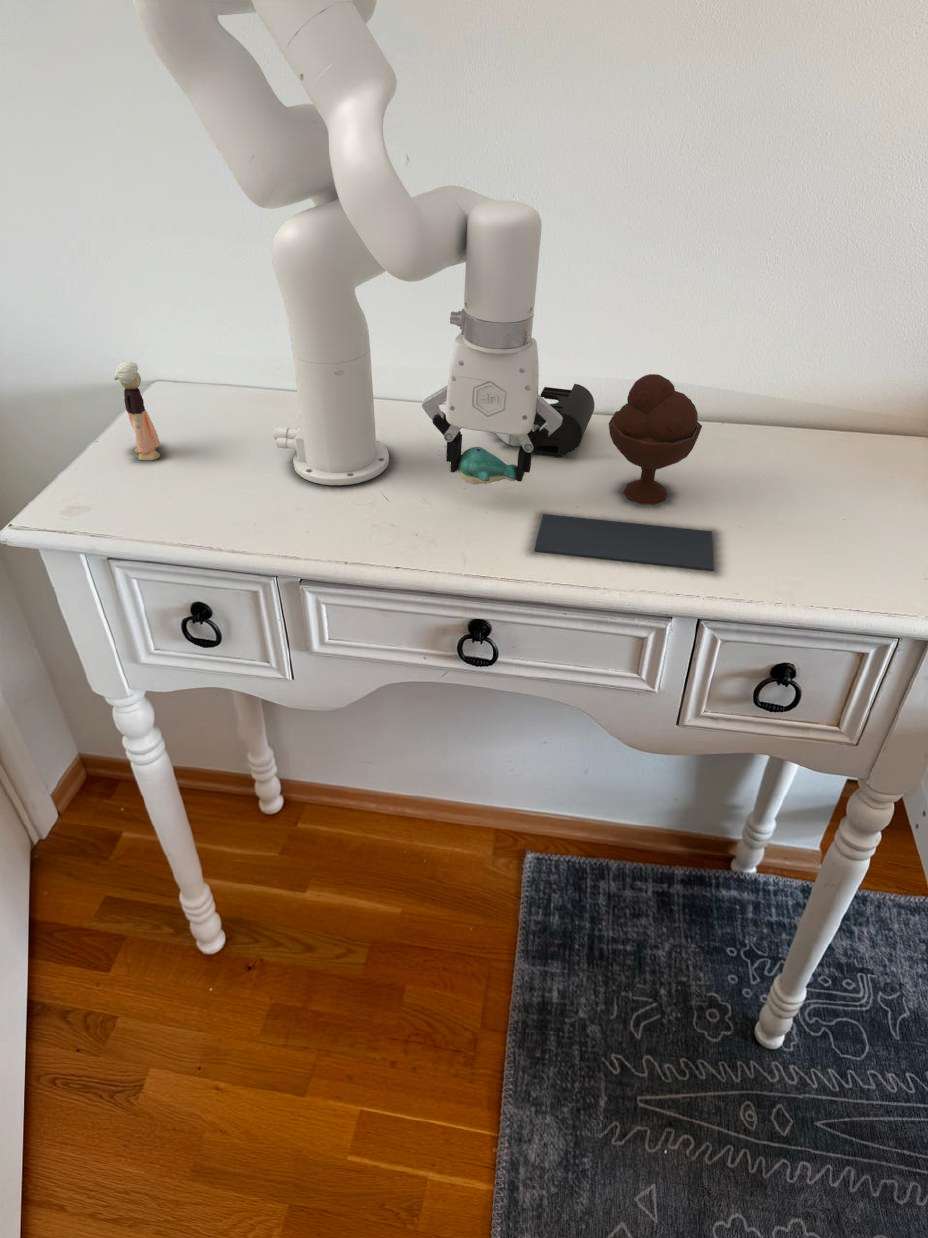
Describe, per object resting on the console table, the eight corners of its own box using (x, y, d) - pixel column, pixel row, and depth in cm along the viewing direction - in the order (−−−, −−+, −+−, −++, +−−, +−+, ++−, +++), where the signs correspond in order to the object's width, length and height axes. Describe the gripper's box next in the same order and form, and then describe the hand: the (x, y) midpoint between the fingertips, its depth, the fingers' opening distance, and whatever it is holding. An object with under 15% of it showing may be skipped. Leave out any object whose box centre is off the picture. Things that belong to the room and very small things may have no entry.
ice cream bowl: (592, 506, 110) (604, 391, 100) (615, 466, 118) (628, 356, 109) (678, 523, 106) (698, 406, 97) (695, 481, 115) (715, 369, 105)
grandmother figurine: (170, 459, 119) (150, 368, 111) (142, 466, 117) (120, 374, 110) (151, 437, 124) (130, 349, 116) (124, 445, 122) (101, 355, 115)
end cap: (579, 462, 119) (583, 415, 114) (528, 455, 120) (530, 408, 116) (592, 430, 126) (596, 385, 122) (543, 424, 128) (546, 379, 124)
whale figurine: (462, 463, 110) (464, 435, 108) (520, 471, 109) (523, 443, 107) (453, 486, 106) (454, 458, 103) (513, 494, 105) (516, 466, 103)
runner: (534, 551, 101) (534, 549, 101) (543, 515, 108) (543, 513, 108) (713, 571, 98) (713, 568, 98) (711, 533, 105) (711, 531, 104)
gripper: (411, 330, 94) (410, 477, 105) (574, 349, 92) (555, 497, 103) (427, 306, 100) (424, 447, 111) (580, 324, 98) (562, 466, 109)
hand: (488, 470), depth 107 cm, fingers closed on whale figurine, 7 cm apart
